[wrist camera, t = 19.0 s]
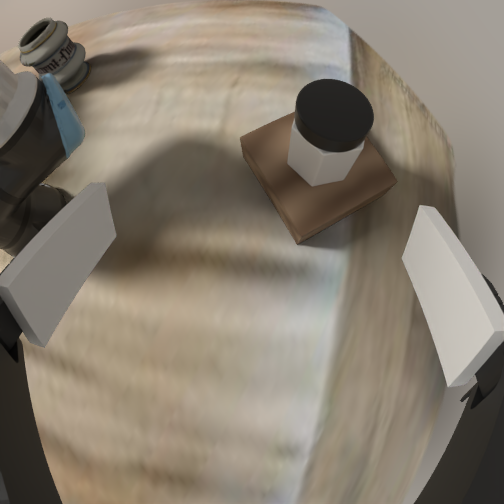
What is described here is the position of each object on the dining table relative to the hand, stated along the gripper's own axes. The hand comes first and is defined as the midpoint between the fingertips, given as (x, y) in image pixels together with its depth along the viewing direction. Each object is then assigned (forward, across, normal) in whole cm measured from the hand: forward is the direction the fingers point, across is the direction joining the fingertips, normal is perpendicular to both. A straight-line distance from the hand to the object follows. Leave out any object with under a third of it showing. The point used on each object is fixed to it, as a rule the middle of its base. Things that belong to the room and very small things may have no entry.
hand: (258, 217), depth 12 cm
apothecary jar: (+51, -46, +5) cm, 68 cm away
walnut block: (+34, +7, -11) cm, 36 cm away
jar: (+29, +6, -7) cm, 31 cm away
